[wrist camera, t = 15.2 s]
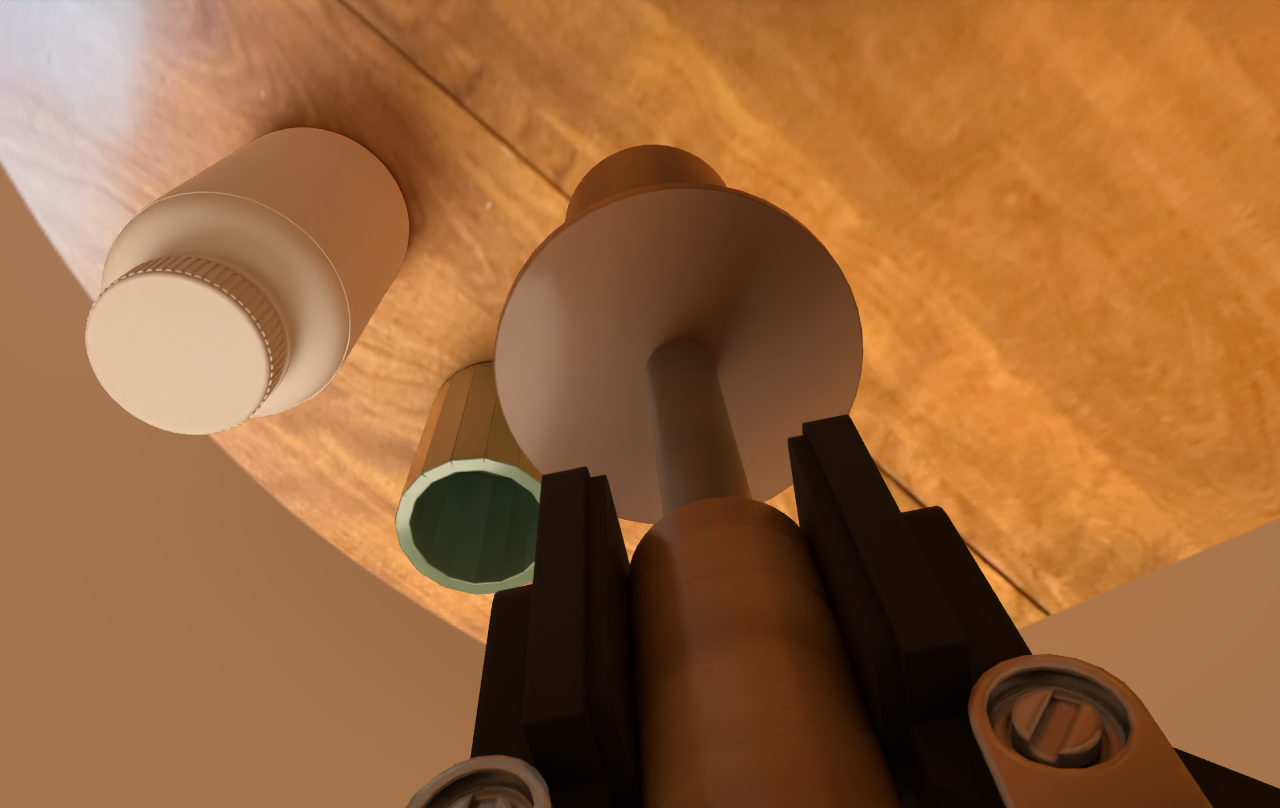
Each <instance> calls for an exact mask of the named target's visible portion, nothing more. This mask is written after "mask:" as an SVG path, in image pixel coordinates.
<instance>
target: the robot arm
mask: <svg viewBox="0 0 1280 808" xmlns="http://www.w3.org/2000/svg"><path fill="white" fill-rule="evenodd" d="M802 434H803V435H800V436H795V437H790V438H788V450H789V457H790V464H791V470H792V477H793V484H794V491H795V498H796V505H797V511H798V518H799V525H800V529H801V530H802V531H803V533H804V534H805V536H806V537H807V540H808V543H809V546H810V548H811V551H812V554H813V557H814V560H815V562H816V565H817V568H818V571H819V574H820V576H821V579H822V582H823V585H824V588H825V590H826V593H827V596H828V599H829V602H830V604H831V607H832V610H833V613H834V615H835V618H836V621H837V624H838V627H839V629H840V632H841V635H842V638H843V641H844V643H845V646H846V649H847V652H848V655H849V657H850V660H851V663H852V666H853V669H854V671H855V674H856V677H857V680H858V682H859V685H860V688H861V691H862V694H863V696H864V699H865V702H866V705H867V708H868V710H869V713H870V716H871V719H872V722H873V724H874V727H875V730H876V733H877V735H878V738H879V741H880V744H881V747H882V749H883V752H884V755H885V758H886V761H887V762H888V764H889V767H890V769H891V771H892V773H893V776H894V779H895V782H896V785H897V787H898V790H899V793H900V796H901V798H902V801H903V804H904V807H905V808H1280V789H1279V788H1276V787H1274V786H1272V785H1269V784H1266V783H1264V782H1261V781H1259V780H1256V779H1254V778H1251V777H1248V776H1246V775H1243V774H1240V773H1238V772H1236V771H1233V770H1230V769H1228V768H1225V767H1223V766H1220V765H1217V764H1215V763H1212V762H1210V761H1207V760H1205V759H1202V758H1200V757H1197V756H1194V755H1192V754H1189V753H1187V752H1184V751H1182V750H1179V749H1176V748H1173V747H1172V746H1171V744H1170V743H1169V741H1168V740H1167V738H1166V737H1165V735H1164V734H1163V732H1162V731H1161V730H1160V728H1159V726H1158V725H1157V723H1156V722H1155V720H1154V719H1153V717H1152V716H1151V714H1150V713H1149V712H1148V710H1147V708H1146V707H1145V705H1144V704H1143V703H1142V701H1141V700H1140V699H1139V698H1138V697H1137V695H1136V694H1135V693H1134V692H1133V691H1132V690H1131V689H1130V688H1129V687H1128V686H1127V685H1126V684H1125V683H1124V682H1123V681H1121V680H1120V679H1118V678H1117V677H1115V676H1114V675H1112V674H1110V673H1109V672H1107V671H1106V670H1104V669H1103V668H1101V667H1098V666H1095V665H1093V664H1090V663H1087V662H1084V661H1082V660H1079V659H1076V658H1070V657H1064V656H1058V655H1051V654H1043V655H1032V653H1031V652H1030V650H1029V648H1028V647H1027V645H1026V643H1025V642H1024V640H1023V638H1022V637H1021V635H1020V634H1019V632H1018V630H1017V628H1016V627H1015V625H1014V624H1013V622H1012V620H1011V619H1010V617H1009V615H1008V614H1007V612H1006V610H1005V609H1004V607H1003V605H1002V604H1001V602H1000V601H999V599H998V597H997V596H996V594H995V592H994V591H993V589H992V587H991V586H990V584H989V583H988V581H987V579H986V578H985V576H984V574H983V573H982V571H981V569H980V568H979V566H978V564H977V563H976V561H975V560H974V558H973V556H972V555H971V553H970V551H969V550H968V548H967V546H966V545H965V543H964V542H963V540H962V538H961V537H960V535H959V533H958V532H957V530H956V528H955V527H954V525H953V523H952V522H951V520H950V519H949V517H948V515H947V514H946V513H945V511H944V510H943V509H942V508H941V507H939V506H933V507H928V508H923V509H918V510H913V511H907V512H902V513H901V512H900V510H899V508H898V506H897V504H896V502H895V500H894V498H893V497H892V495H891V493H890V491H889V489H888V487H887V485H886V483H885V482H884V480H883V478H882V476H881V474H880V472H879V470H878V468H877V467H876V465H875V463H874V461H873V459H872V457H871V455H870V453H869V452H868V450H867V448H866V446H865V444H864V442H863V440H862V438H861V437H860V435H859V433H858V431H857V429H856V427H855V425H854V423H853V422H852V420H851V418H850V417H849V415H847V414H845V415H840V416H835V417H830V418H825V419H820V420H815V421H810V422H805V423H803V424H802ZM629 568H630V564H629V560H628V556H627V552H626V548H625V544H624V540H623V536H622V533H621V529H620V525H619V521H618V517H617V513H616V509H615V505H614V502H613V498H612V494H611V490H610V486H609V482H608V479H607V476H606V475H605V474H604V475H599V476H594V477H591V476H590V473H589V470H588V468H587V467H586V466H585V467H580V468H575V469H570V470H565V471H560V472H555V473H550V474H545V475H543V476H542V480H541V491H540V503H539V515H538V527H537V539H536V551H535V562H534V574H533V584H531V585H526V586H521V587H516V588H510V589H505V590H500V591H497V592H496V594H495V595H494V599H493V603H492V609H491V616H490V623H489V630H488V637H487V644H486V651H485V659H484V665H483V673H482V680H481V687H480V694H479V701H478V708H477V715H476V723H475V730H474V737H473V743H472V751H471V758H470V759H469V760H466V761H463V762H460V763H457V764H454V765H453V766H451V767H450V768H448V769H446V770H444V771H443V772H441V773H439V774H438V775H436V776H434V777H433V778H432V779H431V780H430V781H429V782H428V783H426V784H425V785H424V786H423V787H422V788H421V789H420V790H419V791H418V792H417V793H416V794H415V795H414V796H413V798H412V799H411V801H410V802H409V804H408V805H407V807H406V808H642V797H641V780H640V763H639V747H638V730H637V713H636V696H635V679H634V662H633V645H632V629H631V612H630V595H629Z"/></svg>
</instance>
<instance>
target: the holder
mask: <svg viewBox="0 0 1280 808" xmlns="http://www.w3.org/2000/svg"><path fill="white" fill-rule="evenodd" d="M542 476H543V475H542V474H541V473H540V472H539V471H538V470H537V469H536V468H535V467H534V466H533V465H532V463H531V462H530V461H529V459H528V458H527V457H526V456H525V454H524V453H523V452H522V450H521V449H520V448H519V446H518V444H517V442H516V441H515V439H514V437H513V436H512V434H511V432H510V430H509V428H508V426H507V423H506V421H505V418H504V416H503V413H502V411H501V407H500V403H499V399H498V395H497V391H496V385H495V375H494V362H487V363H481V364H477V365H473V366H470V367H468V368H465V369H463V370H462V371H460V372H458V373H456V374H455V375H454V376H452V377H451V378H450V379H449V380H448V381H447V382H446V383H445V384H444V385H443V386H442V388H441V389H440V391H439V392H438V394H437V396H436V398H435V399H434V402H433V405H432V408H431V411H430V413H429V416H428V419H427V422H426V425H425V428H424V431H423V434H422V437H421V440H420V443H419V446H418V449H417V452H416V454H415V457H414V460H413V463H412V466H411V469H410V472H409V475H408V478H407V481H406V484H405V487H404V490H403V493H402V496H401V499H400V503H399V506H398V510H397V513H396V517H395V525H396V530H397V535H398V540H399V544H400V547H401V549H402V550H403V552H404V553H405V554H406V556H407V557H408V558H409V560H410V561H411V562H412V564H413V565H414V566H415V568H416V569H417V570H418V571H419V572H421V573H422V574H424V575H425V576H427V577H429V578H430V579H432V580H433V581H435V582H436V583H438V584H440V585H441V586H444V587H446V588H450V589H454V590H458V591H462V592H466V593H471V594H489V593H496V592H497V591H500V590H505V589H510V588H516V587H519V586H522V585H524V584H526V583H529V582H531V581H532V580H533V574H534V562H535V551H536V539H537V527H538V515H539V503H540V491H541V480H542Z"/></svg>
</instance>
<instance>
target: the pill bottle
mask: <svg viewBox="0 0 1280 808" xmlns="http://www.w3.org/2000/svg"><path fill="white" fill-rule="evenodd" d="M408 240H409V218H408V212H407V208H406V204H405V201H404V198H403V195H402V193H401V191H400V189H399V187H398V185H397V183H396V181H395V179H394V178H393V176H392V175H391V173H390V172H389V171H388V169H387V168H386V167H385V166H384V165H383V164H382V162H381V161H380V160H379V159H378V158H377V157H375V156H374V155H373V154H372V153H371V152H370V151H368V150H367V149H366V148H364V147H363V146H361V145H360V144H358V143H357V142H355V141H353V140H351V139H349V138H347V137H345V136H343V135H340V134H338V133H335V132H331V131H328V130H323V129H318V128H308V127H298V128H288V129H283V130H279V131H275V132H272V133H268V134H266V135H263V136H261V137H259V138H257V139H255V140H253V141H252V142H250V143H249V144H247V145H245V146H244V147H242V148H240V149H239V150H237V151H235V152H234V153H232V154H230V155H229V156H227V157H226V158H224V159H222V160H221V161H219V162H217V163H216V164H214V165H212V166H211V167H209V168H208V169H206V170H204V171H203V172H201V173H199V174H198V175H196V176H194V177H193V178H191V179H189V180H188V181H186V182H185V183H183V184H181V185H180V186H178V187H176V188H175V189H173V190H171V191H170V192H168V193H167V194H165V195H163V196H162V197H160V198H158V199H157V200H155V201H153V202H152V203H150V204H149V205H147V206H146V207H144V208H143V209H142V210H140V211H139V212H138V213H137V214H135V215H134V216H133V217H132V218H131V219H130V220H129V221H128V222H127V223H126V224H125V225H124V226H123V228H122V229H121V230H120V232H119V233H118V235H117V236H116V238H115V240H114V242H113V244H112V246H111V248H110V251H109V253H108V256H107V259H106V262H105V265H104V270H103V276H102V288H101V291H102V292H101V294H100V295H99V296H98V297H97V298H96V301H95V302H94V303H93V305H92V307H93V308H92V309H91V310H90V312H89V314H90V315H89V317H88V318H87V325H86V333H85V338H86V347H87V353H88V357H89V360H90V363H91V366H92V368H93V371H94V372H95V374H96V376H97V378H98V380H99V381H100V383H101V384H102V386H103V387H104V389H105V390H106V391H107V392H108V394H109V395H110V396H111V397H112V398H113V399H114V400H115V401H116V402H117V403H118V404H119V405H120V406H122V407H123V408H124V409H125V410H127V411H128V412H129V413H131V414H132V415H134V416H135V417H137V418H138V419H140V420H142V421H144V422H146V423H148V424H150V425H153V426H155V427H157V428H160V429H163V430H167V431H171V432H175V433H181V434H190V435H202V434H206V435H207V434H211V433H219V432H220V431H222V432H223V431H227V430H228V429H229V428H230V429H232V428H234V427H235V426H236V425H237V426H238V425H240V424H242V423H243V421H244V422H245V421H247V420H248V419H249V418H257V417H264V416H269V415H274V414H277V413H281V412H284V411H287V410H289V409H292V408H294V407H296V406H298V405H300V404H302V403H304V402H306V401H308V400H309V399H311V398H312V397H314V396H315V395H316V394H318V393H319V392H320V391H321V390H322V389H323V388H325V387H326V386H327V384H328V383H329V382H330V381H331V380H332V379H333V378H334V376H335V375H336V374H337V372H338V371H339V369H340V368H341V366H342V365H343V363H344V361H345V360H346V358H347V356H348V355H349V353H350V351H351V350H352V348H353V346H354V345H355V343H356V341H357V340H358V338H359V337H360V335H361V333H362V332H363V330H364V328H365V327H366V325H367V323H368V322H369V320H370V318H371V317H372V315H373V313H374V312H375V310H376V308H377V307H378V305H379V303H380V302H381V300H382V298H383V297H384V295H385V293H386V292H387V290H388V288H389V287H390V285H391V284H392V282H393V280H394V279H395V277H396V275H397V274H398V272H399V270H400V268H401V266H402V263H403V261H404V258H405V254H406V250H407V246H408Z"/></svg>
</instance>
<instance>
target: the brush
mask: <svg viewBox="0 0 1280 808" xmlns="http://www.w3.org/2000/svg"><path fill="white" fill-rule="evenodd" d="M862 360H863V337H862V327H861V322H860V317H859V311H858V307H857V305H856V302H855V299H854V296H853V293H852V290H851V288H850V286H849V284H848V282H847V280H846V278H845V276H844V274H843V272H842V270H841V269H840V267H839V265H838V264H837V263H836V261H835V260H834V259H833V257H832V256H831V255H830V253H829V252H828V250H827V249H826V248H825V246H824V245H823V244H822V243H821V242H820V241H819V240H818V239H817V237H816V236H815V235H814V234H813V233H812V232H811V231H810V230H809V229H808V228H807V227H806V226H804V225H803V224H802V223H800V222H799V221H798V220H797V219H795V218H794V217H793V216H791V215H790V214H789V213H787V212H786V211H784V210H782V209H780V208H779V207H777V206H775V205H773V204H771V203H770V202H768V201H766V200H764V199H762V198H759V197H756V196H754V195H751V194H749V193H746V192H743V191H740V190H736V189H732V188H728V187H727V186H726V184H725V183H724V181H723V180H722V179H721V177H720V176H719V175H718V174H717V173H716V172H715V171H714V170H713V169H712V168H711V167H710V166H709V165H708V164H707V163H705V162H704V161H703V160H701V159H700V158H698V157H696V156H695V155H693V154H691V153H689V152H686V151H684V150H681V149H678V148H674V147H670V146H663V145H642V146H636V147H631V148H628V149H625V150H621V151H619V152H617V153H615V154H612V155H610V156H609V157H607V158H606V159H604V160H602V161H601V162H599V163H598V164H597V165H596V166H595V167H593V168H592V169H591V170H590V171H589V172H588V173H587V175H586V176H585V177H584V178H583V179H582V181H581V182H580V183H579V185H578V186H577V188H576V190H575V192H574V194H573V196H572V198H571V200H570V203H569V206H568V209H567V214H566V218H565V222H564V223H563V224H562V225H561V226H560V227H558V228H557V229H556V230H555V231H554V232H552V233H551V234H550V235H549V236H548V237H547V238H546V239H545V240H544V241H543V242H542V243H541V244H540V246H539V247H538V248H537V249H536V250H535V251H534V252H533V253H532V254H531V256H530V257H529V259H528V260H527V262H526V263H525V264H524V266H523V267H522V269H521V270H520V272H519V273H518V275H517V277H516V279H515V281H514V283H513V285H512V287H511V289H510V291H509V293H508V295H507V298H506V301H505V304H504V307H503V310H502V313H501V315H500V320H499V324H498V329H497V335H496V340H495V347H494V375H495V385H496V391H497V395H498V399H499V403H500V407H501V411H502V413H503V416H504V418H505V421H506V423H507V426H508V428H509V430H510V432H511V434H512V436H513V437H514V439H515V441H516V442H517V444H518V446H519V448H520V449H521V450H522V452H523V453H524V454H525V456H526V457H527V458H528V459H529V461H530V462H531V463H532V465H533V466H534V467H535V468H536V469H537V470H538V471H539V472H540V473H541V474H542V475H545V474H550V473H555V472H560V471H565V470H570V469H575V468H580V467H585V466H586V467H587V468H588V470H589V473H590V476H591V477H594V476H599V475H604V474H605V475H606V476H607V479H608V482H609V486H610V490H611V494H612V498H613V502H614V505H615V509H616V513H617V517H618V518H622V519H625V520H630V521H636V522H642V523H647V524H654V525H653V526H652V527H651V528H650V529H649V531H648V532H647V533H646V534H645V535H644V537H643V538H642V540H641V541H640V543H639V544H638V546H637V548H636V550H635V552H634V554H633V557H632V560H631V563H630V568H629V595H630V612H631V629H632V645H633V662H634V679H635V696H636V713H637V730H638V747H639V763H640V780H641V797H642V808H905V807H904V804H903V801H902V798H901V796H900V793H899V790H898V787H897V785H896V782H895V779H894V776H893V773H892V771H891V769H890V767H889V764H888V762H887V761H886V758H885V755H884V752H883V749H882V747H881V744H880V741H879V738H878V735H877V733H876V730H875V727H874V724H873V722H872V719H871V716H870V713H869V710H868V708H867V705H866V702H865V699H864V696H863V694H862V691H861V688H860V685H859V682H858V680H857V677H856V674H855V671H854V669H853V666H852V663H851V660H850V657H849V655H848V652H847V649H846V646H845V643H844V641H843V638H842V635H841V632H840V629H839V627H838V624H837V621H836V618H835V615H834V613H833V610H832V607H831V604H830V602H829V599H828V596H827V593H826V590H825V588H824V585H823V582H822V579H821V576H820V574H819V571H818V568H817V565H816V562H815V560H814V557H813V554H812V551H811V548H810V546H809V543H808V540H807V537H806V536H805V534H804V533H803V531H802V530H801V529H800V527H799V526H798V525H797V524H796V523H795V522H794V521H793V520H792V519H791V518H789V517H788V516H787V515H786V514H784V513H782V512H781V511H779V510H778V509H776V508H774V507H772V506H770V505H768V504H765V503H763V502H765V501H767V500H769V499H771V498H773V497H775V496H776V495H778V494H779V493H781V492H782V491H784V490H785V489H787V488H788V487H790V486H791V485H793V477H792V470H791V464H790V457H789V450H788V438H790V437H795V436H800V435H803V434H802V424H803V423H805V422H810V421H815V420H820V419H825V418H830V417H835V416H840V415H845V414H847V415H849V413H850V410H851V407H852V405H853V402H854V400H855V397H856V394H857V390H858V385H859V381H860V377H861V370H862Z"/></svg>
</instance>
